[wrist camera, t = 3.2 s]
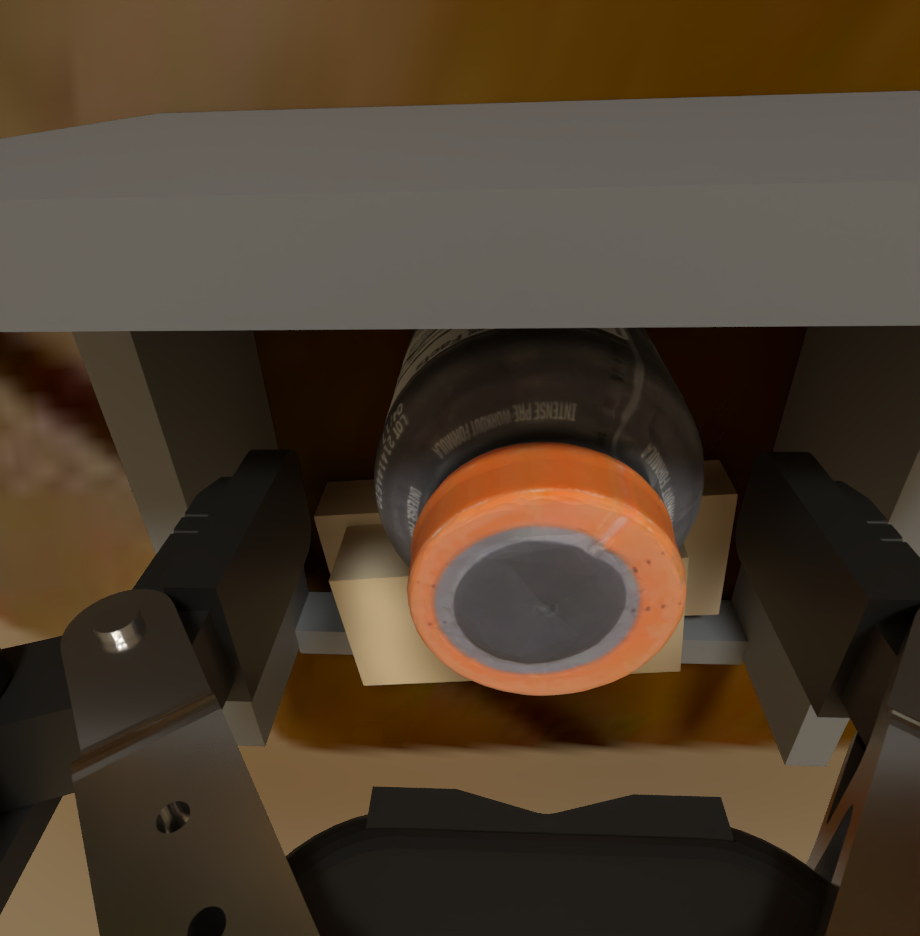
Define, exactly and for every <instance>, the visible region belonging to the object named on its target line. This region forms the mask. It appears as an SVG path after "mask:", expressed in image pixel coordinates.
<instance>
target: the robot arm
mask: <svg viewBox="0 0 920 936" xmlns="http://www.w3.org/2000/svg"><path fill="white" fill-rule="evenodd" d="M887 521H888V520H887V519H886V517H885V516H884V515H883V514H882V513H881V512H880V510H879V509H878V508H877V507H876V506H875V505H874V503H873V502H872V501H871V500H870V499H869V498H867V497H866V496H864V495H863V494H861V493H860V492H858V491H857V490H855V489H853V488H852V487H850V486H849V485H847V484H846V483H844V482H842V481H833V480H832V478H831V477H830V476H829V475H828V473H827V472H826V471H825V470H824V468H823V467H822V466H821V465H820V463H819V462H818V461H817V460H816V459H815V457H814V456H813V455H812V454H811V453H809V452H760V453H759V454H758V455H757V456H756V458H755V460H754V462H753V465H752V468H751V472H750V476H749V480H748V483H747V487H746V491H745V495H744V499H743V502H742V506H741V510H740V514H739V517H738V521H737V526H736V547H737V553H738V556H739V559H740V561H741V563H742V565H743V567H744V569H745V571H746V573H747V575H748V577H749V579H750V582H751V584H752V586H753V588H754V590H755V592H756V594H757V596H758V598H759V600H760V602H761V604H762V606H763V608H764V610H765V612H766V614H767V616H768V618H769V620H770V622H771V624H772V626H773V628H774V630H775V632H776V634H777V636H778V638H779V640H780V642H781V644H782V647H783V649H784V651H785V653H786V655H787V657H788V659H789V661H790V663H791V665H792V667H793V669H794V671H795V673H796V675H797V677H798V679H799V681H800V683H801V685H802V687H803V689H804V691H805V693H806V695H807V697H808V699H809V701H810V703H811V705H812V707H813V710H814V712H815V714H816V716H817V717H828V718H851V720H852V722H853V724H854V726H855V728H856V730H857V731H856V733H855V735H854V737H853V739H852V741H851V743H850V745H849V748H848V751H847V754H846V757H845V759H844V762H843V765H842V768H841V771H840V774H839V777H838V779H837V782H836V785H835V788H834V791H833V794H832V797H831V799H830V802H829V805H828V808H827V811H826V814H825V817H824V820H823V822H822V825H821V828H820V831H819V834H818V837H817V839H816V842H815V844H814V847H813V849H812V852H811V854H810V856H809V859H808V861H807V863H806V864H804V863H803V862H801V861H800V860H798V859H797V858H795V857H794V856H792V855H791V854H789V853H787V852H786V851H784V850H782V849H780V848H778V847H776V846H775V845H773V844H771V843H769V842H767V841H765V840H763V839H760V838H758V837H756V836H753V835H751V834H748V833H745V832H743V831H741V830H738V829H734V828H731V827H730V825H729V822H728V819H727V816H726V812H725V809H724V806H723V803H722V799H721V797H699V796H664V795H630V796H625V797H621V798H617V799H613V800H609V801H605V802H600V803H596V804H592V805H588V806H584V807H579V808H575V809H571V810H567V811H563V812H558V813H554V814H541V813H536V812H532V811H529V810H525V809H522V808H519V807H515V806H512V805H508V804H505V803H502V802H498V801H495V800H492V799H488V798H485V797H481V796H478V795H475V794H471V793H468V792H464V791H461V790H458V789H433V788H400V787H373V789H372V795H371V801H370V807H369V813H368V815H364V816H360V817H356V818H353V819H351V820H348V821H345V822H343V823H340V824H337V825H335V826H333V827H331V828H329V829H327V830H325V831H323V832H321V833H319V834H317V835H315V836H313V837H312V838H311V839H309V840H308V841H306V842H304V843H303V844H301V845H300V846H298V847H297V848H295V849H294V850H293V851H292V852H290V853H289V854H288V855H287V856H286V857H285V854H284V852H283V850H282V848H281V845H280V843H279V841H278V838H277V836H276V834H275V831H274V829H273V827H272V824H271V822H270V820H269V817H268V815H267V813H266V811H265V808H264V806H263V804H262V801H261V799H260V797H259V794H258V792H257V790H256V788H255V785H254V783H253V781H252V778H251V776H250V774H249V771H248V769H247V767H246V765H245V762H244V760H243V758H242V755H241V753H240V751H239V748H238V746H237V744H236V741H235V739H234V737H233V734H232V732H231V730H230V728H229V725H228V723H227V721H226V718H225V716H224V714H223V711H222V709H223V707H224V705H225V702H226V701H240V702H252V700H253V698H254V695H255V692H256V690H257V687H258V685H259V682H260V679H261V677H262V674H263V671H264V669H265V666H266V663H267V661H268V658H269V655H270V653H271V650H272V648H273V645H274V642H275V640H276V637H277V634H278V632H279V629H280V626H281V624H282V621H283V619H284V616H285V613H286V611H287V608H288V605H289V603H290V600H291V597H292V595H293V592H294V589H295V587H296V584H297V582H298V579H299V576H300V574H301V571H302V568H303V566H304V563H305V560H306V558H307V555H308V552H309V548H310V542H311V520H310V514H309V509H308V504H307V499H306V493H305V488H304V483H303V478H302V473H301V467H300V462H299V458H298V455H297V453H296V452H295V451H294V450H290V449H252V450H250V451H249V452H248V453H247V455H246V456H245V458H244V459H243V461H242V463H241V464H240V466H239V467H238V469H237V470H236V472H235V474H234V475H233V477H220V478H219V479H217V480H216V481H215V482H213V483H212V484H211V485H209V486H208V487H206V488H205V489H204V490H202V491H201V492H200V493H198V494H197V496H196V497H195V499H194V500H193V502H192V503H191V505H190V506H189V507H188V509H187V510H186V512H185V517H182V518H181V519H180V521H179V522H178V524H177V525H176V526H175V528H174V533H173V534H170V535H169V537H168V538H167V540H166V541H165V542H164V544H163V545H162V547H161V548H160V550H159V551H158V553H157V554H156V556H155V557H154V559H153V560H152V561H151V563H150V564H149V566H148V567H147V569H146V570H145V572H144V573H143V575H142V576H141V577H140V579H139V580H138V582H137V583H136V585H135V586H134V588H133V589H132V590H128V591H123V592H119V593H116V594H113V595H110V596H108V597H106V598H103V599H101V600H99V601H97V602H96V603H94V604H92V605H90V606H89V607H87V608H86V609H85V610H83V611H82V612H81V613H80V614H78V615H77V616H76V617H75V618H74V619H73V620H72V621H71V623H70V624H69V625H68V627H67V628H66V629H65V631H64V633H63V636H59V637H55V638H50V639H46V640H41V641H37V642H32V643H28V644H23V645H19V646H15V647H10V648H5V649H0V914H1V912H2V910H3V908H4V907H5V905H6V903H7V901H8V899H9V897H10V895H11V893H12V891H13V889H14V888H15V886H16V884H17V882H18V880H19V878H20V876H21V874H22V872H23V870H24V869H25V867H26V864H27V863H28V861H29V859H30V857H31V855H32V853H33V851H34V849H35V848H36V846H37V844H38V842H39V840H40V838H41V836H42V834H43V832H44V831H45V829H46V827H47V825H48V823H49V821H50V819H51V817H52V815H53V813H54V812H55V809H56V807H57V806H58V804H59V802H60V800H61V798H62V796H64V795H67V794H71V793H75V798H76V804H77V809H78V815H79V821H80V826H81V831H82V838H83V843H84V849H85V854H86V860H87V866H88V871H89V877H90V882H91V888H92V894H93V899H94V904H95V911H96V916H97V922H98V927H99V933H100V936H920V557H919V556H918V555H917V554H916V552H915V551H914V550H913V549H912V548H911V547H910V545H909V544H908V543H907V542H903V541H902V538H903V537H902V536H901V535H900V534H899V533H898V531H897V530H896V529H895V528H894V527H893V526H892V524H888V523H887Z"/></svg>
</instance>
